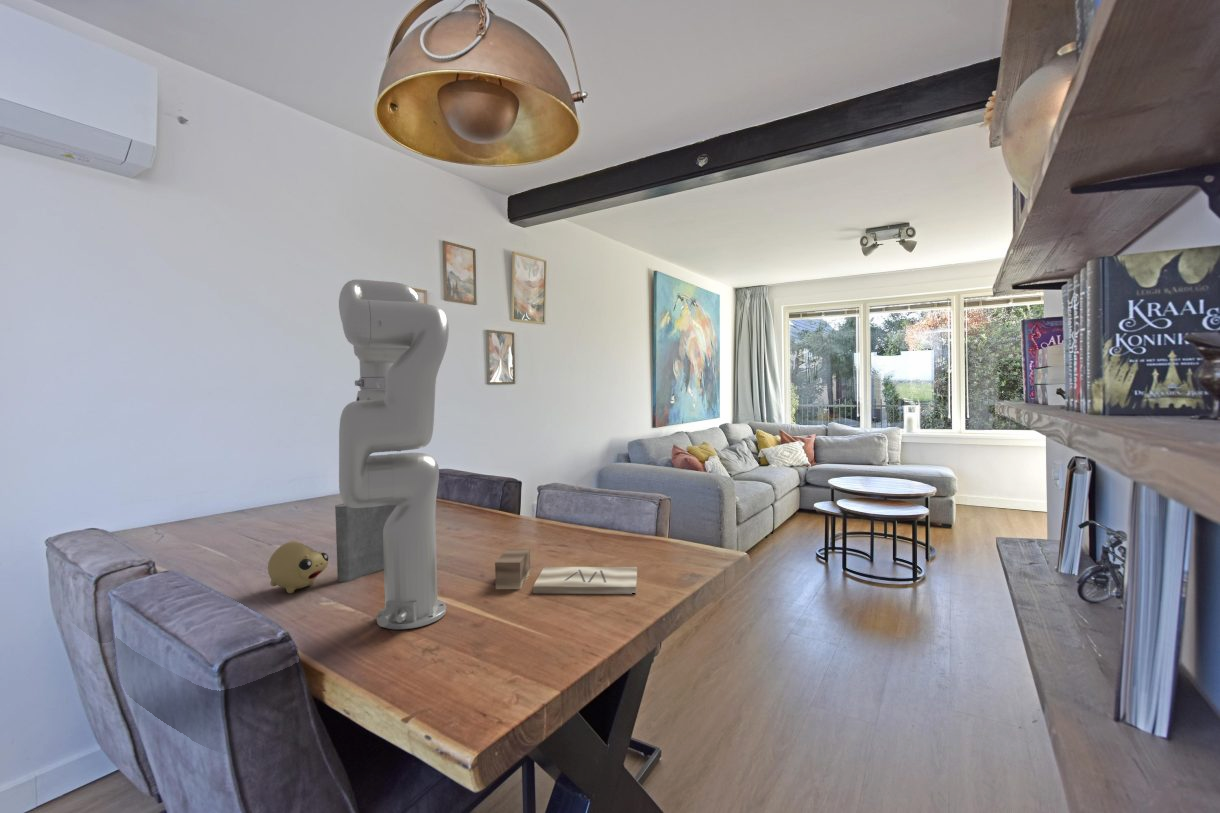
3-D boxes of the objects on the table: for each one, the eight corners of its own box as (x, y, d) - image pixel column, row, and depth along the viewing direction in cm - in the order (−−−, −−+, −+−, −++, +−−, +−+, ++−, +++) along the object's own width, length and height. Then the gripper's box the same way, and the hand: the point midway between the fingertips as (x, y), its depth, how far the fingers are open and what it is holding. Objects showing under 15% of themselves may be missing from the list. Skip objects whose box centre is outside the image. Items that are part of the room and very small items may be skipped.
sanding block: (520, 589, 120) (519, 562, 120) (495, 589, 120) (495, 562, 120) (530, 574, 130) (529, 549, 130) (507, 574, 130) (507, 549, 130)
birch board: (636, 593, 116) (636, 586, 116) (533, 593, 117) (532, 586, 117) (637, 573, 129) (637, 566, 128) (544, 573, 130) (544, 566, 130)
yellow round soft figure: (302, 600, 116) (300, 550, 115) (258, 594, 119) (256, 546, 119) (337, 584, 125) (336, 537, 125) (296, 579, 129) (294, 534, 128)
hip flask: (342, 583, 126) (339, 496, 125) (333, 579, 128) (330, 494, 128) (403, 564, 139) (401, 485, 138) (394, 561, 141) (391, 484, 140)
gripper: (347, 384, 129) (349, 457, 130) (416, 384, 142) (418, 450, 143) (334, 385, 134) (337, 455, 135) (402, 385, 147) (404, 449, 148)
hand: (378, 452), depth 139 cm, fingers open, 9 cm apart
